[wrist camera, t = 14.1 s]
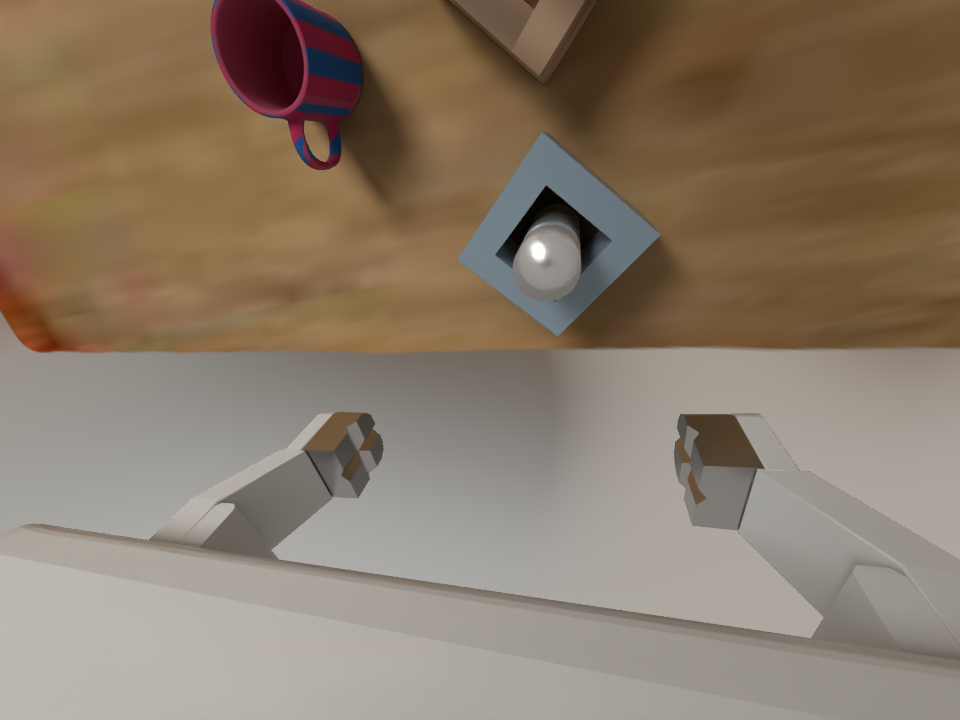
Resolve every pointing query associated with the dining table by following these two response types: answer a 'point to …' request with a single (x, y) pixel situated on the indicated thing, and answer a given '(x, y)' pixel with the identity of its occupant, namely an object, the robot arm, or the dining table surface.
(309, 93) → the mug
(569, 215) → the pin
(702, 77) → the dining table surface
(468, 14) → the mount
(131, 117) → the dining table surface
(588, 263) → the socket
